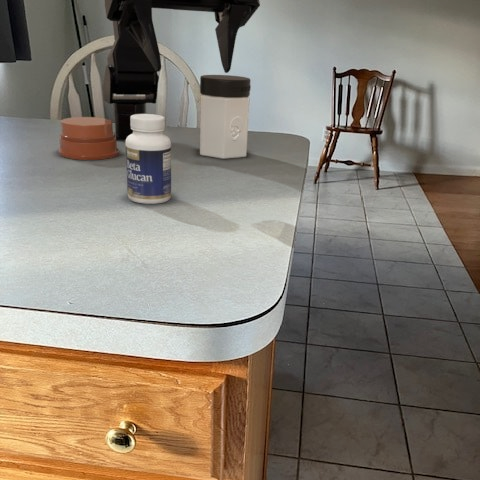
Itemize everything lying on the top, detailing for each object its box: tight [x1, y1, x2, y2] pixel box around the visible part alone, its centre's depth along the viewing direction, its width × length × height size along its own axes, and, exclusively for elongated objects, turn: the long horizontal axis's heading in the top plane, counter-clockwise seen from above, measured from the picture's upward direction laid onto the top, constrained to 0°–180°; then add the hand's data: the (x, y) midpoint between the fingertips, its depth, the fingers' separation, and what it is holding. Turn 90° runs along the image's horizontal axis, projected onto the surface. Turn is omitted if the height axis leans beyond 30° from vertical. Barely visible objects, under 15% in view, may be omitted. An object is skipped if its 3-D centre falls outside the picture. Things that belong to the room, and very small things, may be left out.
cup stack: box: [58, 116, 120, 161], centre depth 87 cm, size 9×9×5 cm
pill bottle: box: [125, 113, 172, 205], centre depth 65 cm, size 5×5×10 cm
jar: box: [199, 74, 251, 160], centre depth 90 cm, size 9×8×12 cm
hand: (194, 70), depth 68 cm, fingers open, 9 cm apart
